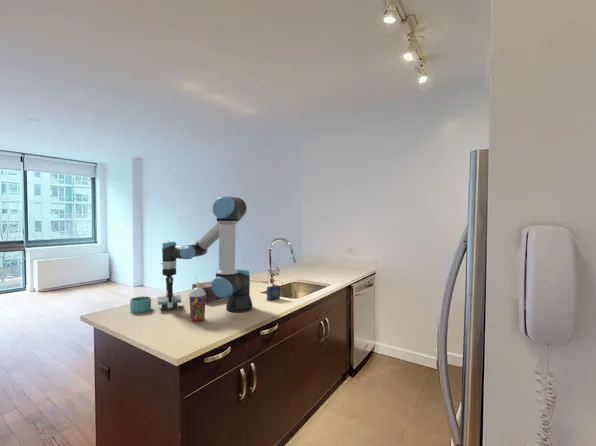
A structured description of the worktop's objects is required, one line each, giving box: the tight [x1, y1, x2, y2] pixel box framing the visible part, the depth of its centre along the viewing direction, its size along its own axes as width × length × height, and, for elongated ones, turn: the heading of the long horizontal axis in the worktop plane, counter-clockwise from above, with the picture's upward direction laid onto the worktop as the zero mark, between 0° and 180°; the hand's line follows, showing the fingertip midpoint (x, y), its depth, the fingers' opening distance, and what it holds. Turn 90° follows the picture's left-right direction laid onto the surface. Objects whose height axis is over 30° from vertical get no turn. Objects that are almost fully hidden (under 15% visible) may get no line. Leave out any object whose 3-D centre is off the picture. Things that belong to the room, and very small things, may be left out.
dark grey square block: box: [161, 303, 178, 312], centre depth 181 cm, size 8×8×4 cm
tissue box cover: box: [191, 280, 229, 304], centre depth 204 cm, size 26×14×10 cm, turn 134°
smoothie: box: [188, 281, 206, 323], centre depth 160 cm, size 8×8×20 cm
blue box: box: [266, 282, 281, 302], centre depth 200 cm, size 9×3×11 cm, turn 121°
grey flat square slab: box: [157, 294, 182, 306], centre depth 181 cm, size 12×12×2 cm
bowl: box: [129, 296, 152, 314], centre depth 176 cm, size 10×10×6 cm
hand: (169, 304), depth 181 cm, fingers closed on grey flat square slab, 12 cm apart
